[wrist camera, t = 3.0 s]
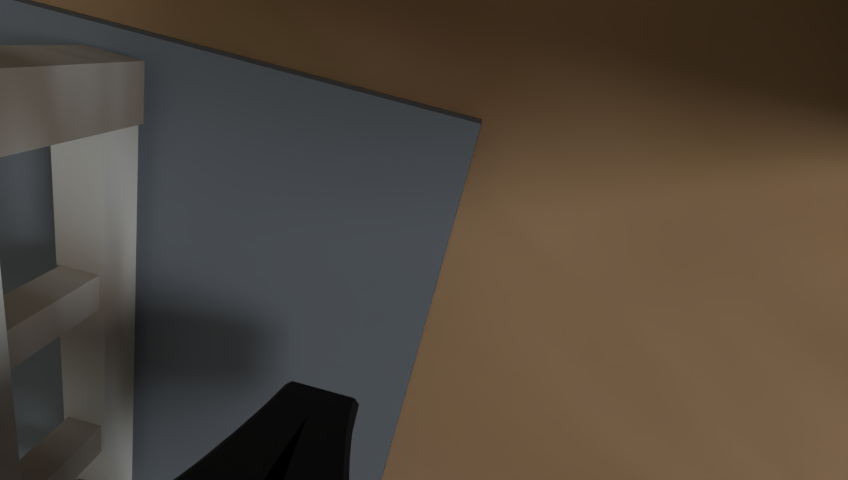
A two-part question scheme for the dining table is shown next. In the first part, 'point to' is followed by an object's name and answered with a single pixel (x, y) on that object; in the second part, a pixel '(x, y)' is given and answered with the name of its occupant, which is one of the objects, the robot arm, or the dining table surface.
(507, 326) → the dining table surface
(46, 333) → the gate
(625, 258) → the dining table surface
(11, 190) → the gate frame
